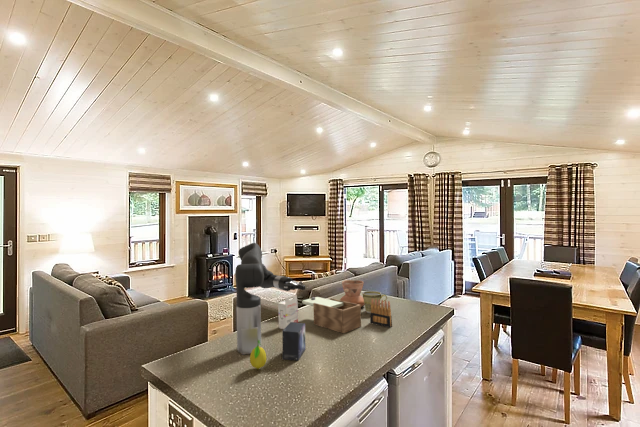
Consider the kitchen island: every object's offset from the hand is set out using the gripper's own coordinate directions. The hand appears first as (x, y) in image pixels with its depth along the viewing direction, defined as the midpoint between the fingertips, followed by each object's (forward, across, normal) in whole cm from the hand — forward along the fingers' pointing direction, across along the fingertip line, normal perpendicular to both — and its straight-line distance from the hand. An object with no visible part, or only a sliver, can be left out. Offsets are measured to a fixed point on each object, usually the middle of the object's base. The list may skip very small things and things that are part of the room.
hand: (304, 287), depth 173 cm
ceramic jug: (+8, +30, +15) cm, 35 cm away
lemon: (+33, -52, +14) cm, 63 cm away
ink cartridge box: (+7, -17, +14) cm, 23 cm away
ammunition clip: (+38, +14, +14) cm, 43 cm away
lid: (+13, 0, +6) cm, 15 cm away
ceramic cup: (+24, +29, +15) cm, 40 cm away
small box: (+33, -36, +14) cm, 51 cm away
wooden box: (+23, 0, +14) cm, 27 cm away
